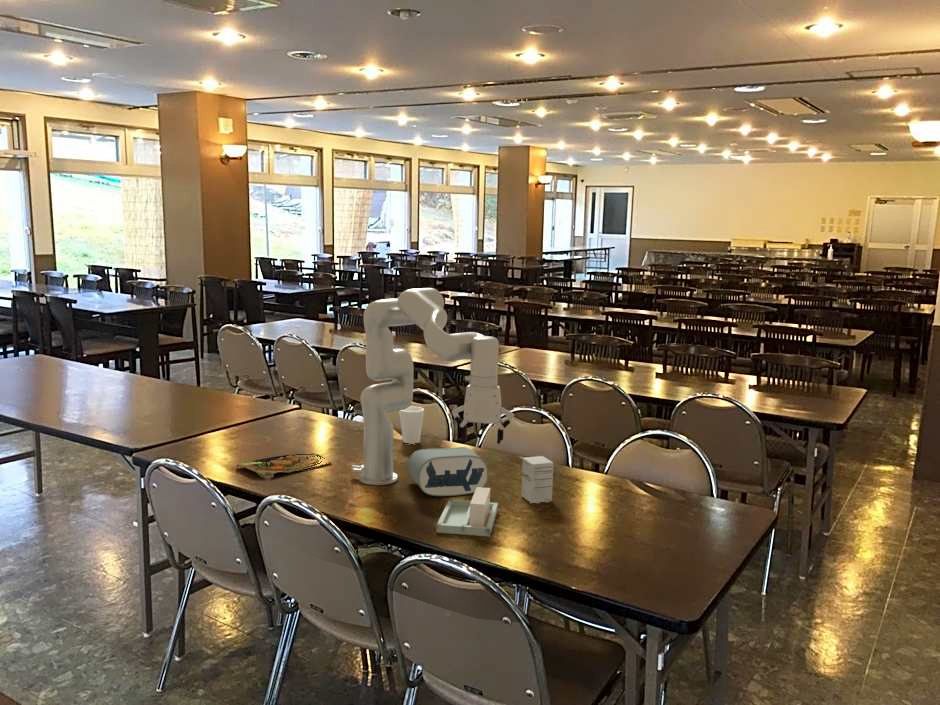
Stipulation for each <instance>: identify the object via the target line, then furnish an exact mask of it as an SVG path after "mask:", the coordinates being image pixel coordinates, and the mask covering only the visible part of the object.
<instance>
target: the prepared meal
mask: <svg viewBox="0 0 940 705" xmlns="http://www.w3.org/2000/svg"><path fill="white" fill-rule="evenodd" d="M309 453H310V454H303V453H293V454H283V455H274V456H268V457H263V458H257V459H256V458H255V459H254V458H253V459H247V460H245V461H243V462H241V463H238V464H236V467H237V468H239V467H242V468H244V469H247V470H250V471H253V472H255V473H256V474H257V475H258V476H259V477H260V478H262V477H265V476H271V477H272V478H274V476H275V474H277V473H285V474H286V473H293V472H296V471H300V470H302V469H306V468H309V467H312V466H315V465H317V464H320V463H321V462H322V461H321V462H320V463H318V462H319V460H318V459H316V460H315V459H314V460H315V461H314V460H312V461H311V462H310V463H308V464H307V463H305V461H302V462H303V464H304V465H306V467H303V465H302V463H301V464H299V465H296V466H300V467H303V468H295V469H294V468H292V467H294V465H295V464H297V463H300V462H301V461H300V460H299V458H300V457H297V456H295V455H310V457H311V456H312V457H315V456H317V457H318V456H319V457H320V459H321V457H322V458H324V459H326V458H325V457H323V456H322V455H320V454H319V453H315V452H312V453H311V452H309ZM294 454H295V455H294ZM286 456H288V457H286ZM280 457H284V458H283V459H278V458H280ZM271 460H273V461H272V462H270V465H269V466H268V464H267V462H269V461H271ZM265 462H266V463H265ZM316 463H317V464H316ZM328 463H330V464H333V462H332V461H330V462H328ZM310 464H314V465H311V466H308V465H310ZM326 464H327V463H326ZM322 465H323V464H322ZM327 465H328V464H327ZM238 466H239V467H238ZM320 466H321V465H320ZM285 467H288V468H287V469H284V468H285ZM321 467H322V466H321ZM302 471H303V470H302ZM265 478H266V477H265Z"/></svg>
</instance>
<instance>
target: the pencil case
mask: <svg viewBox="0 0 940 705" xmlns="http://www.w3.org/2000/svg"><path fill="white" fill-rule="evenodd" d="M407 470H408V473H409V476H410V477H411V478H412V479H413V480H414V481H415V483H416V484H417V485H418V486H419V488H420V490H421V491H422V492H423V493H424V494H426V495H428V496H433V497H455V496H465V495H470V494H474V493H475V490H476V488H477V487H482V488H485V486H486V484H488V483H487V482H488V479H489V470H488V466H487V463H486V461H485V460H484V459H483V458H482V457H480V456H479V455H478V454H477V453H476V452H474V451H473V450H472V449H471V448H468V447H466V446H460V447H459V446H458V447H457V446H456V447H450V448H449V447H448V448H423V449H418V450H416V451H414V452H413V453H412V454H411V455H410V456H409V459H408V462H407Z"/></svg>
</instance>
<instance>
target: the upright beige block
mask: <svg viewBox="0 0 940 705" xmlns="http://www.w3.org/2000/svg"><path fill="white" fill-rule="evenodd" d="M470 501H471V503H470V526H483V527H485V524H486V521H487V518H488V515H489V512H490V502H491V487H483V488H482V487H477V488H476V490H475V493H473V495H472V498H471V500H470Z"/></svg>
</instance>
